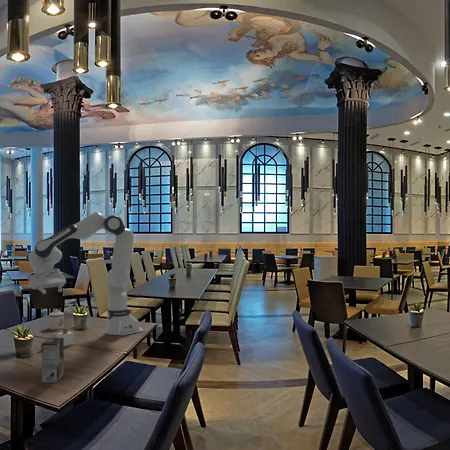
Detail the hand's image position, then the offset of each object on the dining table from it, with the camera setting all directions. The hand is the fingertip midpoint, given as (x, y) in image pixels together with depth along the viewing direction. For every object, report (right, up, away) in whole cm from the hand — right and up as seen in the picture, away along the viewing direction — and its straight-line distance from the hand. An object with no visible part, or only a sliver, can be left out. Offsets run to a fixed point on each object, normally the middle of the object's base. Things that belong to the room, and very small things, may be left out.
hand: (52, 292), depth 230 cm
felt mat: (+10, -27, -8) cm, 30 cm away
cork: (+2, -27, -18) cm, 33 cm away
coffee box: (+24, -27, -57) cm, 68 cm away
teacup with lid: (-10, -28, +31) cm, 43 cm away
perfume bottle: (+10, -27, -8) cm, 30 cm away
